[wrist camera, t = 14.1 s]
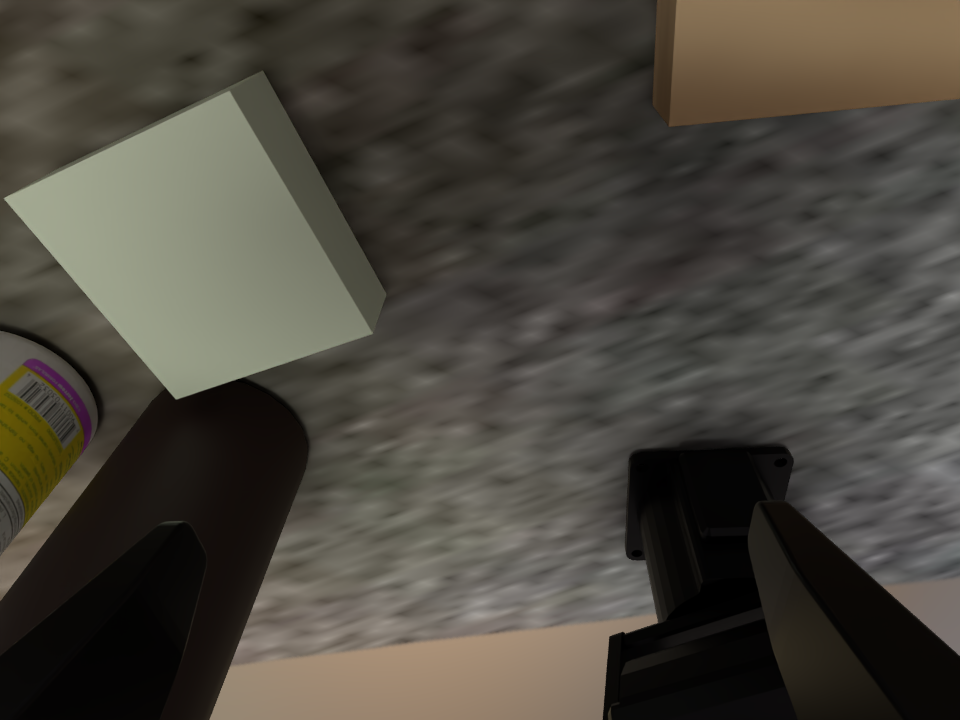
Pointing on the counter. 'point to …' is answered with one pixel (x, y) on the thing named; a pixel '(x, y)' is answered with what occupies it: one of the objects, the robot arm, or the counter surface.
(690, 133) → the counter surface
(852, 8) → the oak block
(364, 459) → the counter surface
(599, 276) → the counter surface
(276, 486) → the vinegar
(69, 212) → the sage block
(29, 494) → the supplement bottle
